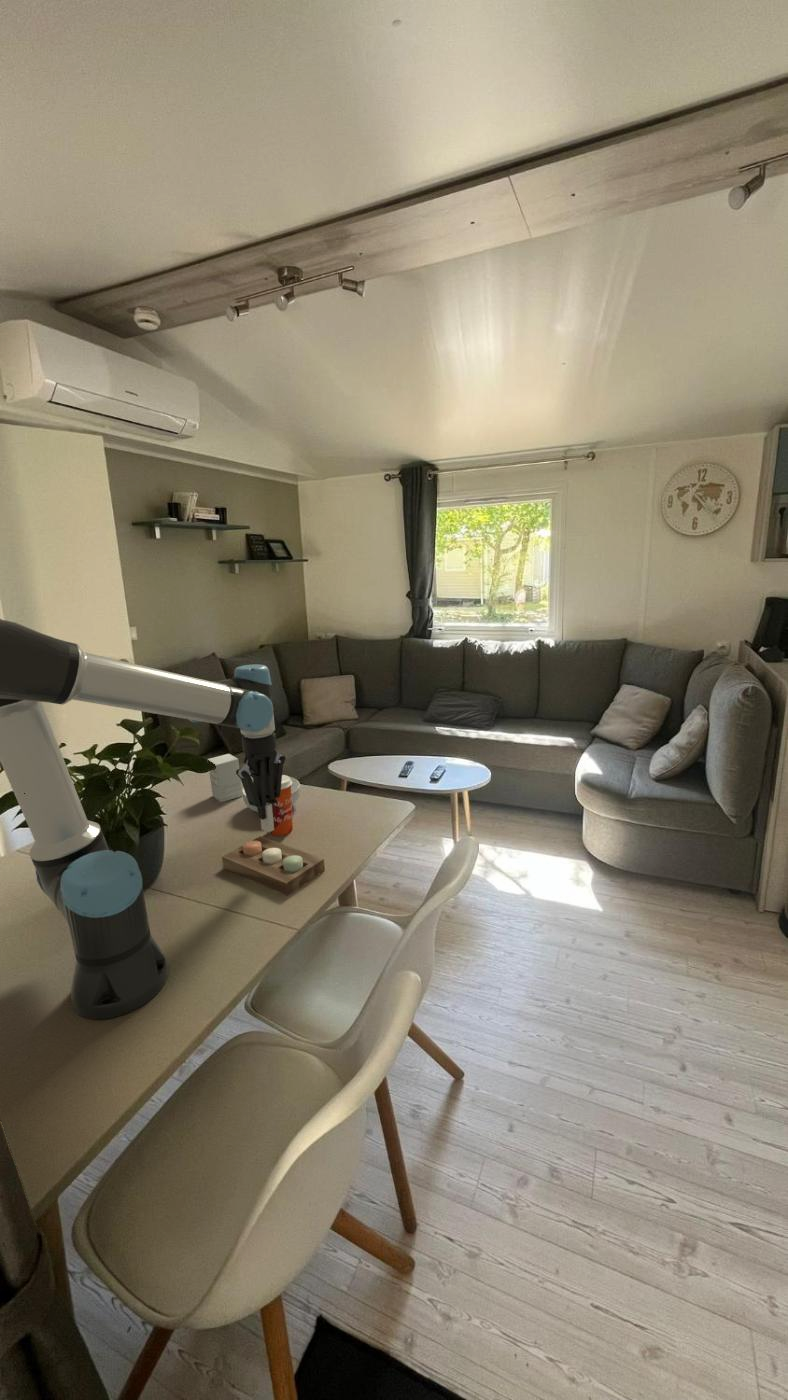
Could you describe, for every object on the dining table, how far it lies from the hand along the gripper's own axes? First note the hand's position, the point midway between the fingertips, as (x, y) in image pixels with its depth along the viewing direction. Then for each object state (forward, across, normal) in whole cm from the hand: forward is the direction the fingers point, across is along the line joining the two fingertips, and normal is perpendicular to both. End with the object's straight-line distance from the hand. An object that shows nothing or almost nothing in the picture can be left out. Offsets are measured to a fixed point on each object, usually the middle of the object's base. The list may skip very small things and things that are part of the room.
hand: (267, 829), depth 132 cm
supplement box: (+10, +22, +46) cm, 52 cm away
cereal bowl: (+10, +24, +26) cm, 36 cm away
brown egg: (+9, 0, +6) cm, 11 cm away
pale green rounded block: (+9, 0, -8) cm, 12 cm away
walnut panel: (+10, 0, -1) cm, 10 cm away
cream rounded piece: (+9, 0, -1) cm, 9 cm away
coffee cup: (+10, +15, +12) cm, 22 cm away
